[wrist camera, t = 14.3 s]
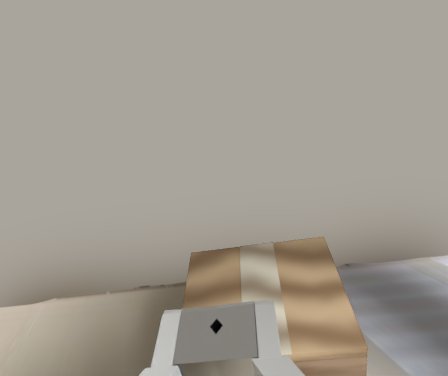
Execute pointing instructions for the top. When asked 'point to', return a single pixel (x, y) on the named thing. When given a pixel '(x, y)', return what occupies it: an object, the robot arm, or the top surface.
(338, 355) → the lid
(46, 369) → the top surface
